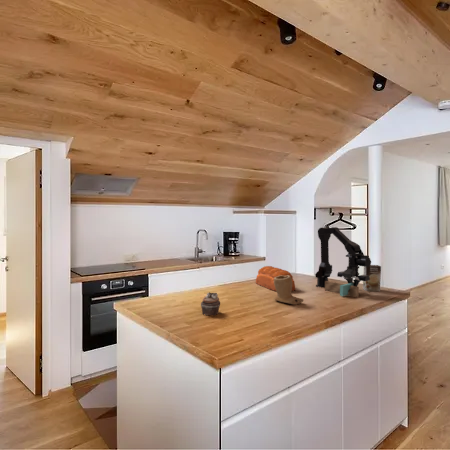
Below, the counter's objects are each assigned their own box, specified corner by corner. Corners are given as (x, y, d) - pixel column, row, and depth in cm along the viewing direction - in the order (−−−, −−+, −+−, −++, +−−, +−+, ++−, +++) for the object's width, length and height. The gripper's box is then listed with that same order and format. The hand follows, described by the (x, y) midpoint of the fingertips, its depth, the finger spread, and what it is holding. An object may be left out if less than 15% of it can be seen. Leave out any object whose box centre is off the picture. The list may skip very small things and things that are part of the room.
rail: (324, 290, 222) (324, 281, 222) (326, 290, 223) (326, 280, 223) (356, 297, 205) (356, 287, 205) (358, 296, 206) (358, 286, 206)
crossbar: (342, 296, 205) (343, 286, 205) (339, 295, 206) (340, 285, 206) (356, 292, 214) (356, 282, 214) (353, 291, 216) (353, 282, 216)
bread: (272, 281, 250) (272, 263, 249) (298, 291, 221) (298, 270, 221) (253, 283, 244) (253, 264, 243) (277, 293, 215) (277, 272, 214)
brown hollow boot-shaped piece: (268, 301, 195) (269, 274, 194) (283, 298, 202) (283, 272, 201) (289, 307, 183) (289, 279, 182) (304, 303, 190) (304, 276, 189)
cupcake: (201, 310, 177) (201, 290, 176) (220, 310, 176) (220, 291, 176) (199, 316, 167) (199, 295, 167) (219, 316, 167) (219, 295, 166)
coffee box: (365, 291, 221) (366, 266, 221) (362, 288, 228) (363, 264, 227) (380, 291, 220) (381, 266, 220) (377, 289, 227) (377, 264, 226)
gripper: (332, 264, 215) (332, 289, 216) (360, 268, 201) (360, 294, 201) (342, 262, 222) (342, 286, 223) (370, 266, 208) (369, 292, 208)
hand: (352, 290), depth 214 cm, fingers closed on crossbar, 2 cm apart
